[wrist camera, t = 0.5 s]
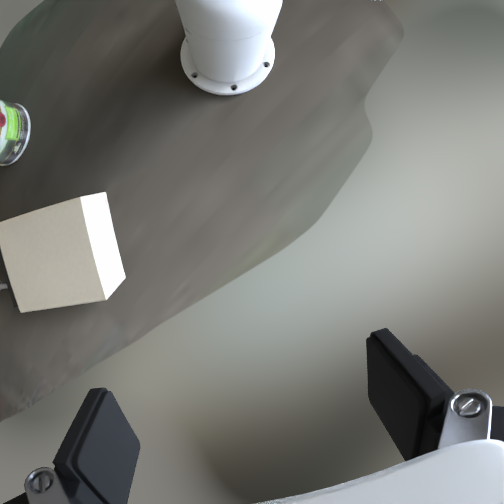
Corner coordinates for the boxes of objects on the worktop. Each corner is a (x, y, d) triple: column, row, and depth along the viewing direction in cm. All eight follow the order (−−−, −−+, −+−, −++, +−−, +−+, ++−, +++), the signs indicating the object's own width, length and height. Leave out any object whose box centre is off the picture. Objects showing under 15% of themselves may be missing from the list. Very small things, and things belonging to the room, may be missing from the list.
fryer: (47, 291, 44) (20, 312, 35) (26, 214, 41) (-6, 224, 32) (125, 277, 44) (106, 300, 36) (105, 191, 41) (80, 196, 33)
